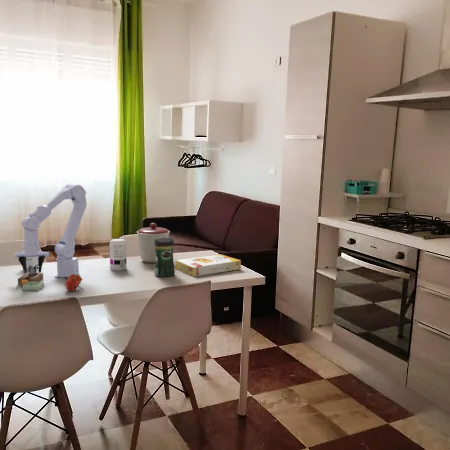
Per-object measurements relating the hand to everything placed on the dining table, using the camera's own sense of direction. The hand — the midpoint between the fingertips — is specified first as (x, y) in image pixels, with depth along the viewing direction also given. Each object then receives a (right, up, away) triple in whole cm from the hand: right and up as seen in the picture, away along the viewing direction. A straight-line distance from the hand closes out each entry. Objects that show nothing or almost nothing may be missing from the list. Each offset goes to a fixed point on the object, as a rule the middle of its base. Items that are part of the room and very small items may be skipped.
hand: (32, 272), depth 218 cm
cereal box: (+79, -2, +28) cm, 84 cm away
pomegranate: (+23, -7, -13) cm, 28 cm away
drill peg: (0, -4, +1) cm, 4 cm away
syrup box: (-10, 0, +24) cm, 27 cm away
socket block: (0, -4, -2) cm, 5 cm away
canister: (+49, +2, +44) cm, 66 cm away
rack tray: (+5, -6, -11) cm, 14 cm away
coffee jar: (+59, -3, +14) cm, 60 cm away
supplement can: (+34, -1, +25) cm, 42 cm away
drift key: (0, -5, -5) cm, 7 cm away
